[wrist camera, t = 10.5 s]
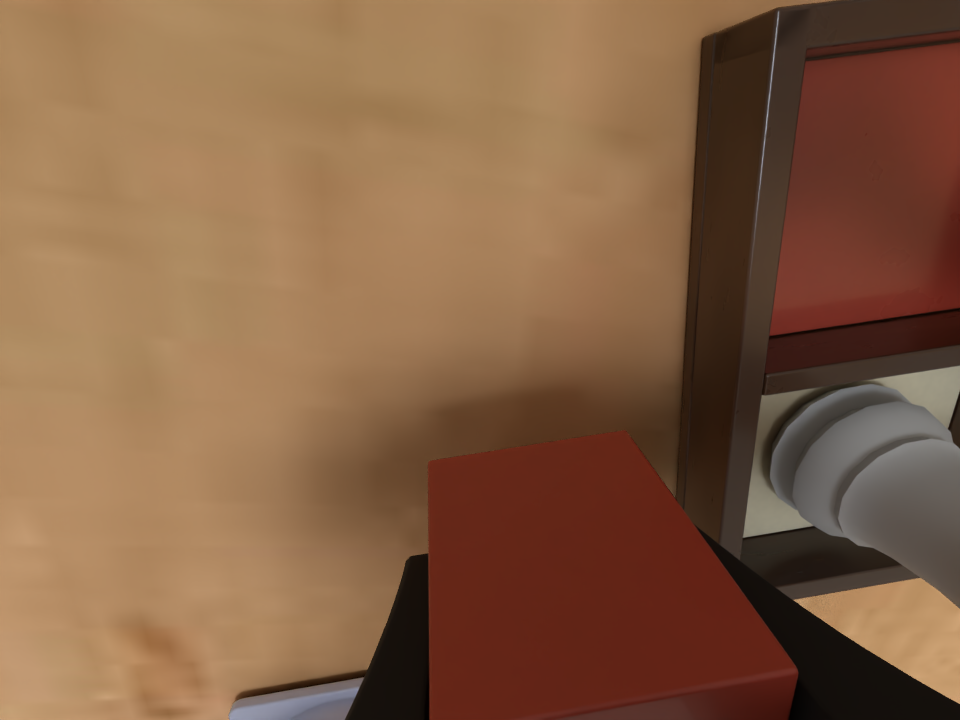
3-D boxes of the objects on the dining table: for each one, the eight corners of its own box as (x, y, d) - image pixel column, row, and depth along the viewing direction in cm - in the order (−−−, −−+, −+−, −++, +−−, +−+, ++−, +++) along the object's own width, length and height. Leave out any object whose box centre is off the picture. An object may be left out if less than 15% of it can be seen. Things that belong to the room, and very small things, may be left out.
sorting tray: (922, 509, 17) (998, 565, 15) (672, 551, 17) (711, 614, 14) (1085, -9, 11) (1255, -50, 9) (702, 37, 11) (776, 6, 8)
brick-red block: (625, 575, 13) (760, 860, 7) (455, 604, 12) (475, 918, 7) (626, 428, 11) (801, 670, 6) (427, 459, 11) (428, 738, 6)
